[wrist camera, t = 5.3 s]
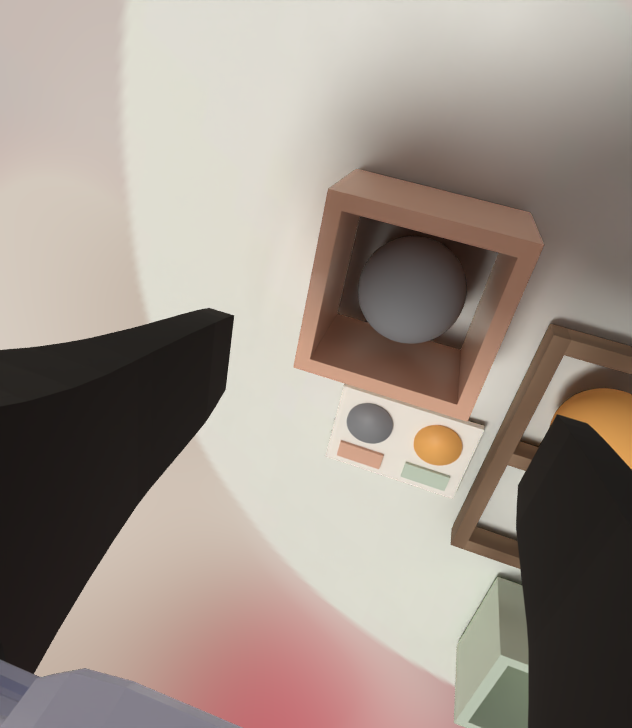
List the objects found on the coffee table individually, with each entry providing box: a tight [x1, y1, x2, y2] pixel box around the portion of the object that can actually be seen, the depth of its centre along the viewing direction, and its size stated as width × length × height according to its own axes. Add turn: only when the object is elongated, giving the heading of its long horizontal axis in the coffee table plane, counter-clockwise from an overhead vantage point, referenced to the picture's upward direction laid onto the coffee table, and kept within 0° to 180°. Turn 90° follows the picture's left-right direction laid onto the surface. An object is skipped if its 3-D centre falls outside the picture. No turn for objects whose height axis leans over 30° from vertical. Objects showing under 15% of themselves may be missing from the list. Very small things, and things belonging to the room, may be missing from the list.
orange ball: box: [550, 388, 632, 469], centre depth 18 cm, size 4×4×4 cm
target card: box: [326, 384, 484, 499], centre depth 22 cm, size 6×4×1 cm, turn 79°
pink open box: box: [294, 169, 544, 422], centre depth 17 cm, size 6×6×4 cm
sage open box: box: [454, 577, 528, 728], centre depth 24 cm, size 6×6×4 cm
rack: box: [451, 324, 632, 569], centre depth 20 cm, size 6×11×1 cm, turn 169°
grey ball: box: [358, 236, 467, 344], centre depth 17 cm, size 4×4×4 cm
